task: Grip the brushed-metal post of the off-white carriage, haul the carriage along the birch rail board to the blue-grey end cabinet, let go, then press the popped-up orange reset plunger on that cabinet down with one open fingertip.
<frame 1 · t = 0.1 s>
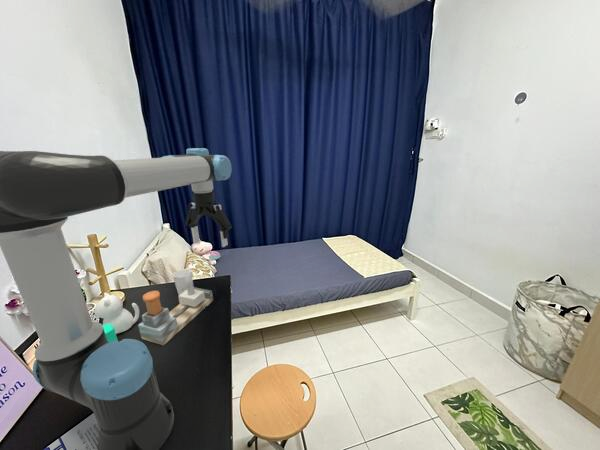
hand: (210, 244, 99), 28 cm above the table, tool pointing down, fingers open, 13 cm apart
rail board: (181, 317, 99), on the table
cat figurine: (122, 328, 94), on the table
candle: (110, 356, 81), on the table
carriage: (190, 287, 102), point 9 cm above the table, slide at -5.0 cm
white cup: (185, 292, 116), on the table
reset plunger: (153, 303, 85), point 13 cm above the table, slide at 0.0 cm
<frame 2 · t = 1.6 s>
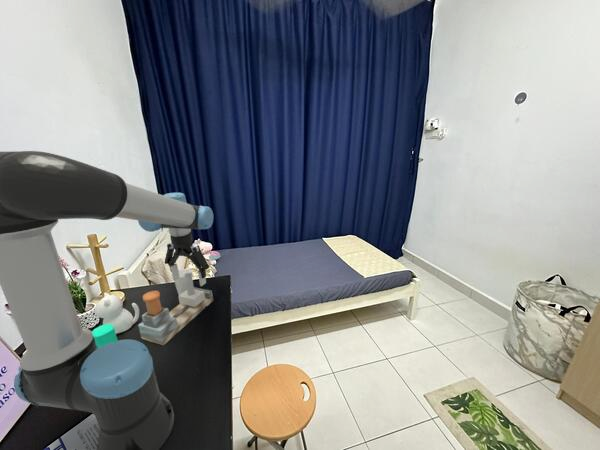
hand: (189, 281, 101), 12 cm above the table, tool pointing down, fingers open, 13 cm apart
nothing on the table moved.
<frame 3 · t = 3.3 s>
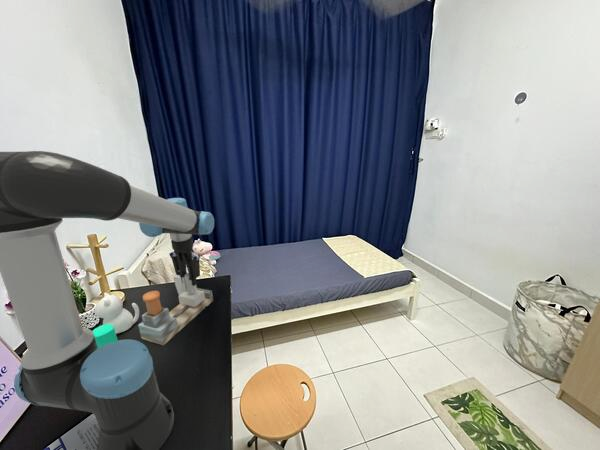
hand: (190, 290, 102), 8 cm above the table, tool pointing down, fingers closed on carriage, 3 cm apart
carriage: (190, 287, 102), point 9 cm above the table, slide at -5.0 cm, touching gripper
everything else where it was.
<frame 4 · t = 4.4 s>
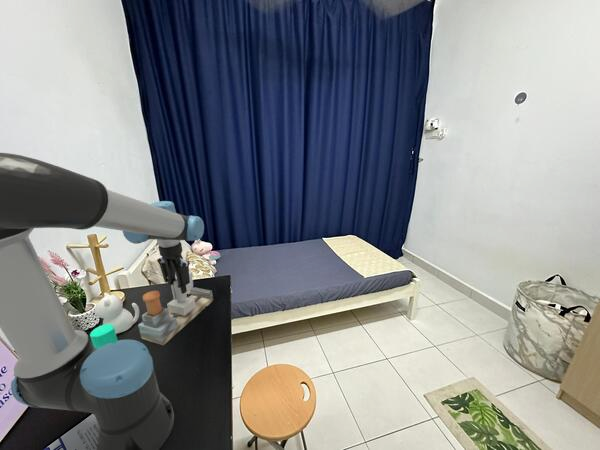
hand: (180, 298, 97), 8 cm above the table, tool pointing down, fingers closed on carriage, 3 cm apart
carriage: (179, 295, 97), point 9 cm above the table, slide at 0.7 cm, touching gripper
everything else where it was.
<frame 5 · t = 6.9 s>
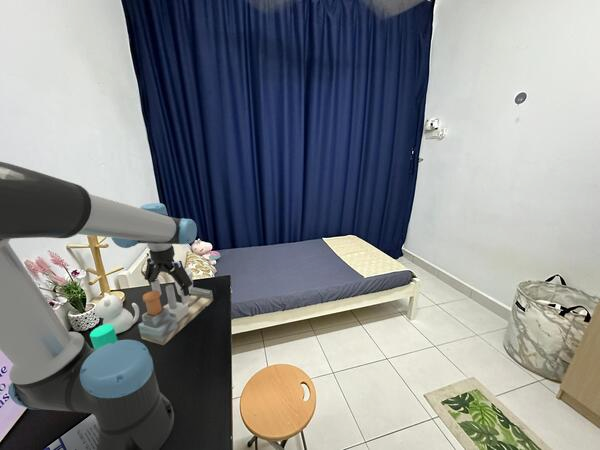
hand: (171, 299, 93), 10 cm above the table, tool pointing down, fingers open, 13 cm apart
carriage: (172, 301, 93), point 9 cm above the table, slide at 4.5 cm
everything else where it was.
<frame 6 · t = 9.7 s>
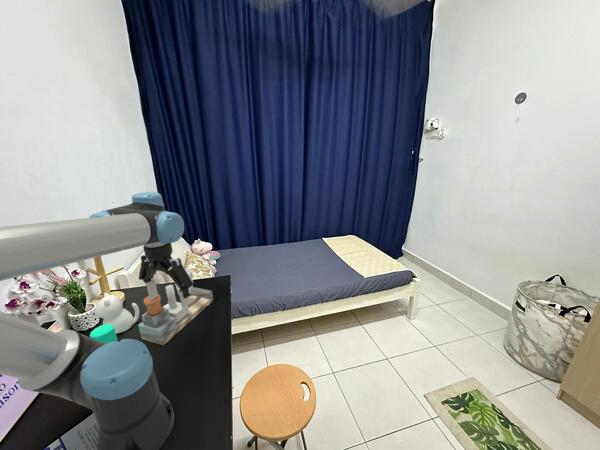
hand: (169, 301, 82), 16 cm above the table, tool pointing down, fingers open, 13 cm apart
reset plunger: (154, 307, 86), point 12 cm above the table, slide at 1.4 cm, touching gripper
everything else where it was.
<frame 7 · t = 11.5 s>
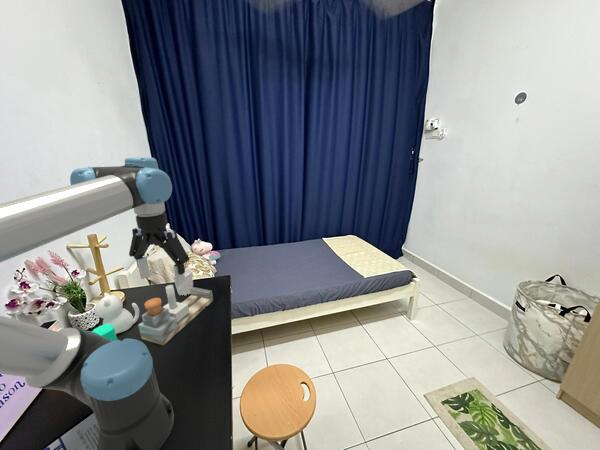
hand: (162, 280, 76), 26 cm above the table, tool pointing down, fingers open, 13 cm apart
reset plunger: (154, 310, 86), point 10 cm above the table, slide at 2.9 cm
everything else where it was.
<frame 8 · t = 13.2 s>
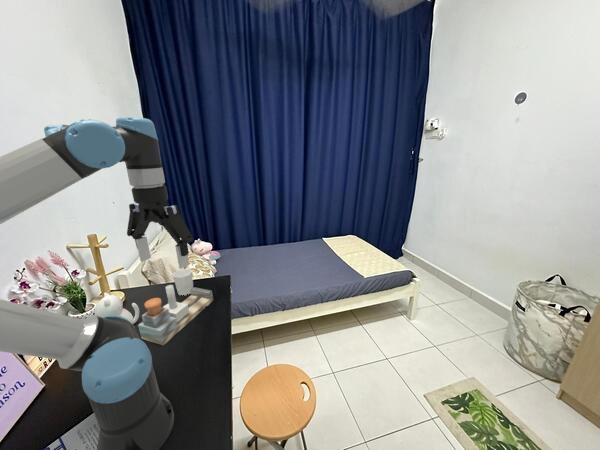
hand: (164, 262, 68), 35 cm above the table, tool pointing down, fingers open, 13 cm apart
nothing on the table moved.
at the end: carriage slide at 4.5 cm; reset plunger slide at 2.9 cm; the gripper is holding nothing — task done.
